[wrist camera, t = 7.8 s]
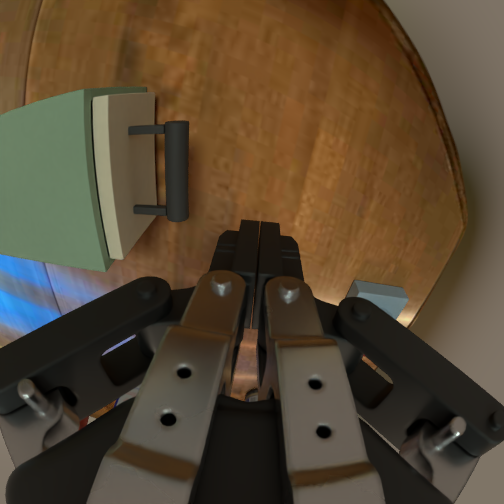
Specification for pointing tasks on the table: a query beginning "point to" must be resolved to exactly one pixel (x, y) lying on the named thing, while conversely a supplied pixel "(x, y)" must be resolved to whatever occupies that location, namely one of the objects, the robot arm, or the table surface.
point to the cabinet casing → (52, 182)
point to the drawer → (135, 167)
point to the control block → (380, 296)
